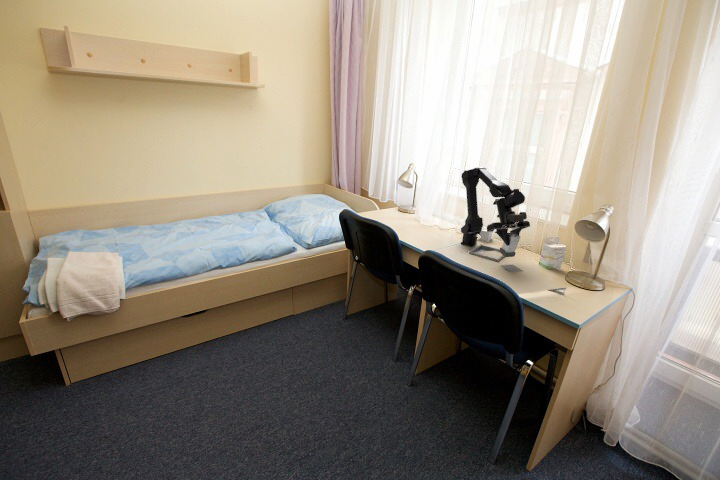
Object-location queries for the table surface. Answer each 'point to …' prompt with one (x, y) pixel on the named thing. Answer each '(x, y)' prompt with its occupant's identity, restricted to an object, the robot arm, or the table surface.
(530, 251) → the table surface
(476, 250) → the tray
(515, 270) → the stud plate
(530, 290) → the table surface
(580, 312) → the table surface
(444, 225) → the table surface
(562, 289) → the external hard drive
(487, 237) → the beige cube
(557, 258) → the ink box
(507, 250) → the strut
